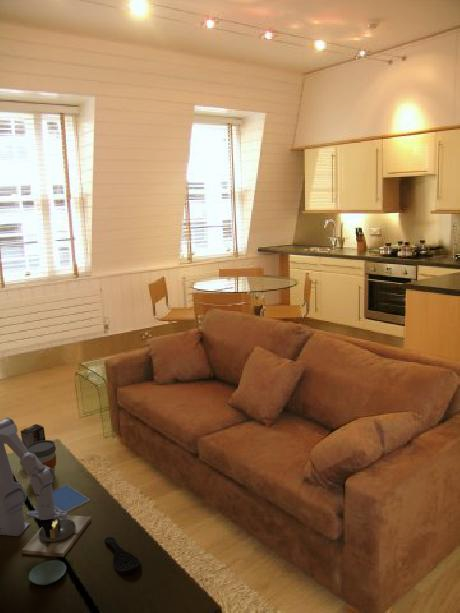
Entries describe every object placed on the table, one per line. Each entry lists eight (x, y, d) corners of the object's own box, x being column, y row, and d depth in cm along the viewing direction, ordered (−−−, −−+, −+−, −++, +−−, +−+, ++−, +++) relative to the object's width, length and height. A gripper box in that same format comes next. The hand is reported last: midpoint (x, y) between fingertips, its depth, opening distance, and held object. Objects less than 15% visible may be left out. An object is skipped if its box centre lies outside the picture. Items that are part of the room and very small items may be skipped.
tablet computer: (40, 498, 229) (39, 496, 229) (67, 486, 238) (66, 483, 238) (63, 515, 216) (63, 512, 216) (91, 501, 225) (90, 498, 224)
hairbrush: (116, 528, 200) (144, 560, 180) (118, 537, 201) (146, 570, 180) (95, 536, 196) (121, 570, 175) (96, 546, 197) (122, 581, 176)
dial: (44, 523, 207) (43, 511, 206) (79, 520, 208) (77, 508, 207) (34, 544, 195) (32, 531, 194) (71, 541, 195) (69, 528, 194)
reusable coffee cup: (38, 469, 254) (34, 439, 251) (63, 469, 252) (59, 439, 249) (25, 483, 242) (20, 452, 239) (51, 483, 240) (47, 452, 237)
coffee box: (40, 453, 270) (36, 423, 266) (48, 456, 266) (44, 426, 263) (24, 461, 262) (19, 430, 259) (32, 464, 259) (27, 433, 255)
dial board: (22, 553, 193) (21, 549, 192) (53, 517, 214) (53, 513, 213) (63, 557, 190) (62, 552, 189) (91, 520, 211) (90, 516, 210)
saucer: (55, 561, 188) (55, 555, 188) (73, 576, 180) (73, 570, 179) (23, 578, 180) (22, 572, 179) (40, 595, 172) (39, 589, 171)
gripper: (69, 496, 196) (73, 529, 199) (31, 495, 198) (35, 528, 201) (61, 507, 190) (65, 541, 192) (21, 506, 191) (26, 540, 194)
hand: (49, 535), depth 196 cm, fingers closed, pressing on dial
